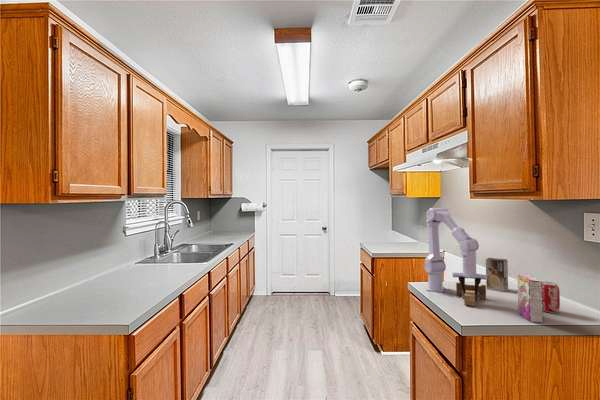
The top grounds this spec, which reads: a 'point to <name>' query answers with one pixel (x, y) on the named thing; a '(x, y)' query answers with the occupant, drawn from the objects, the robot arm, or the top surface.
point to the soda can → (550, 297)
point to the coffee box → (497, 274)
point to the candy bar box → (530, 298)
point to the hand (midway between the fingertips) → (470, 293)
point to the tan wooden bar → (469, 297)
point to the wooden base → (480, 291)
